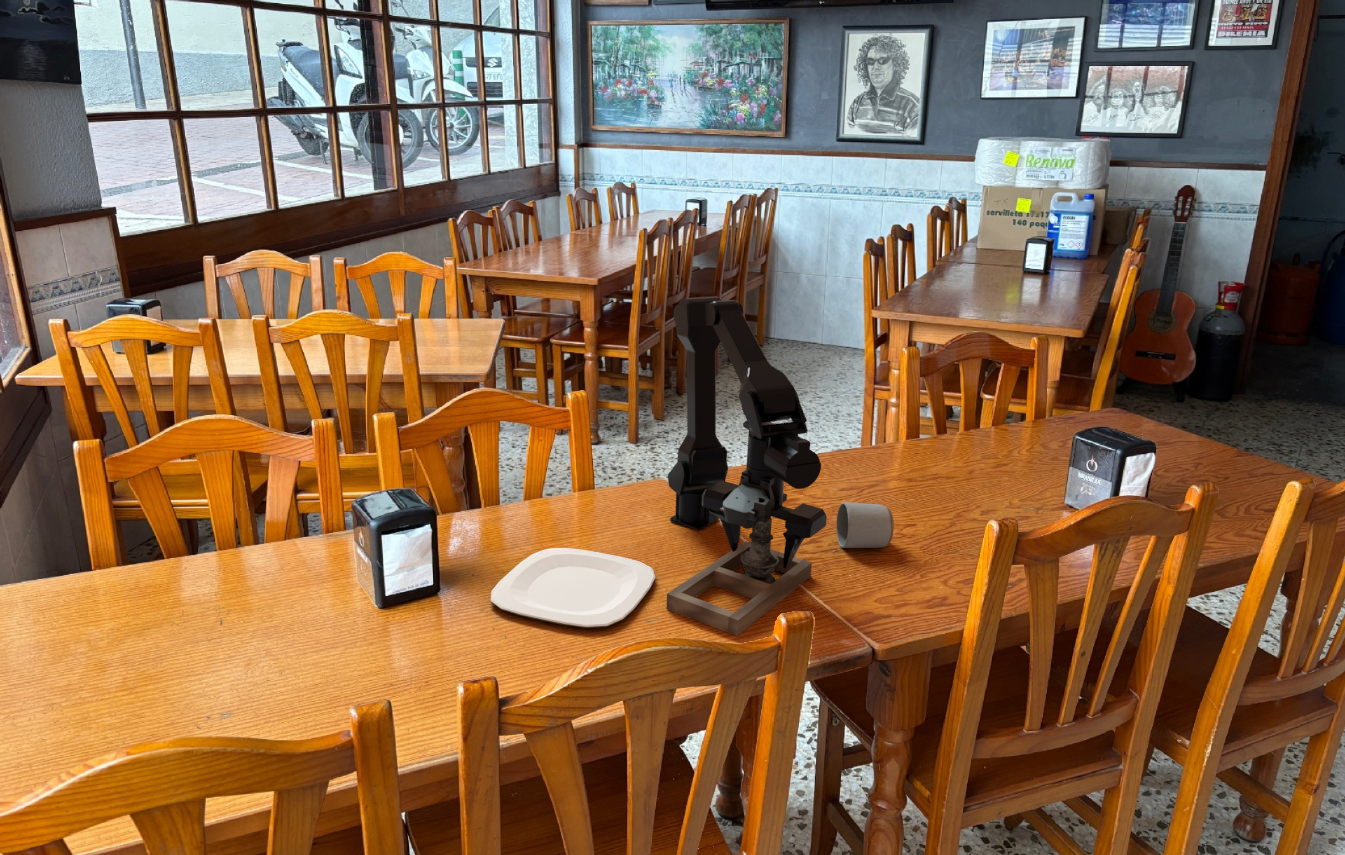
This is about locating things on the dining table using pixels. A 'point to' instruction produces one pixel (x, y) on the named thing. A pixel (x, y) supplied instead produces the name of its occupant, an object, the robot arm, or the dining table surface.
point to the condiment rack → (736, 591)
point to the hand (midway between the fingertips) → (759, 558)
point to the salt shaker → (760, 554)
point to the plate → (574, 587)
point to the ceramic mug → (864, 525)
